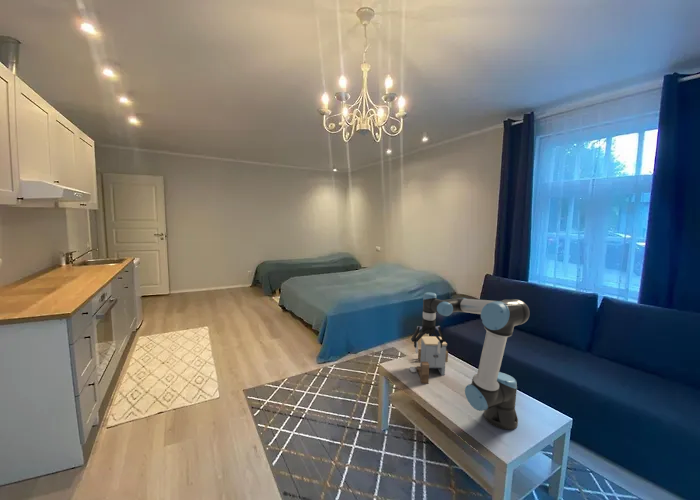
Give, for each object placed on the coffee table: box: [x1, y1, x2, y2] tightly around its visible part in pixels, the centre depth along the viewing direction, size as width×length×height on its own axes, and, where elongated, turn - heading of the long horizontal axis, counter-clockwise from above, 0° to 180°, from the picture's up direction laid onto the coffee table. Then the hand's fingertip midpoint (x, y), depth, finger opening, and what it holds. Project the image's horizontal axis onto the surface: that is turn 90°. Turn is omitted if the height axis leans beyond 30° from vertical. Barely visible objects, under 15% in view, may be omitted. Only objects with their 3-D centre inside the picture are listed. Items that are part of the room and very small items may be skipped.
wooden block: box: [416, 362, 430, 385], centre depth 187 cm, size 17×4×12 cm, turn 179°
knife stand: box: [417, 348, 449, 363], centre depth 209 cm, size 4×20×7 cm, turn 90°
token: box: [409, 366, 418, 374], centre depth 194 cm, size 5×5×2 cm
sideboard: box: [419, 335, 448, 376], centre depth 193 cm, size 13×14×21 cm
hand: (427, 352), depth 179 cm, fingers open, 13 cm apart
